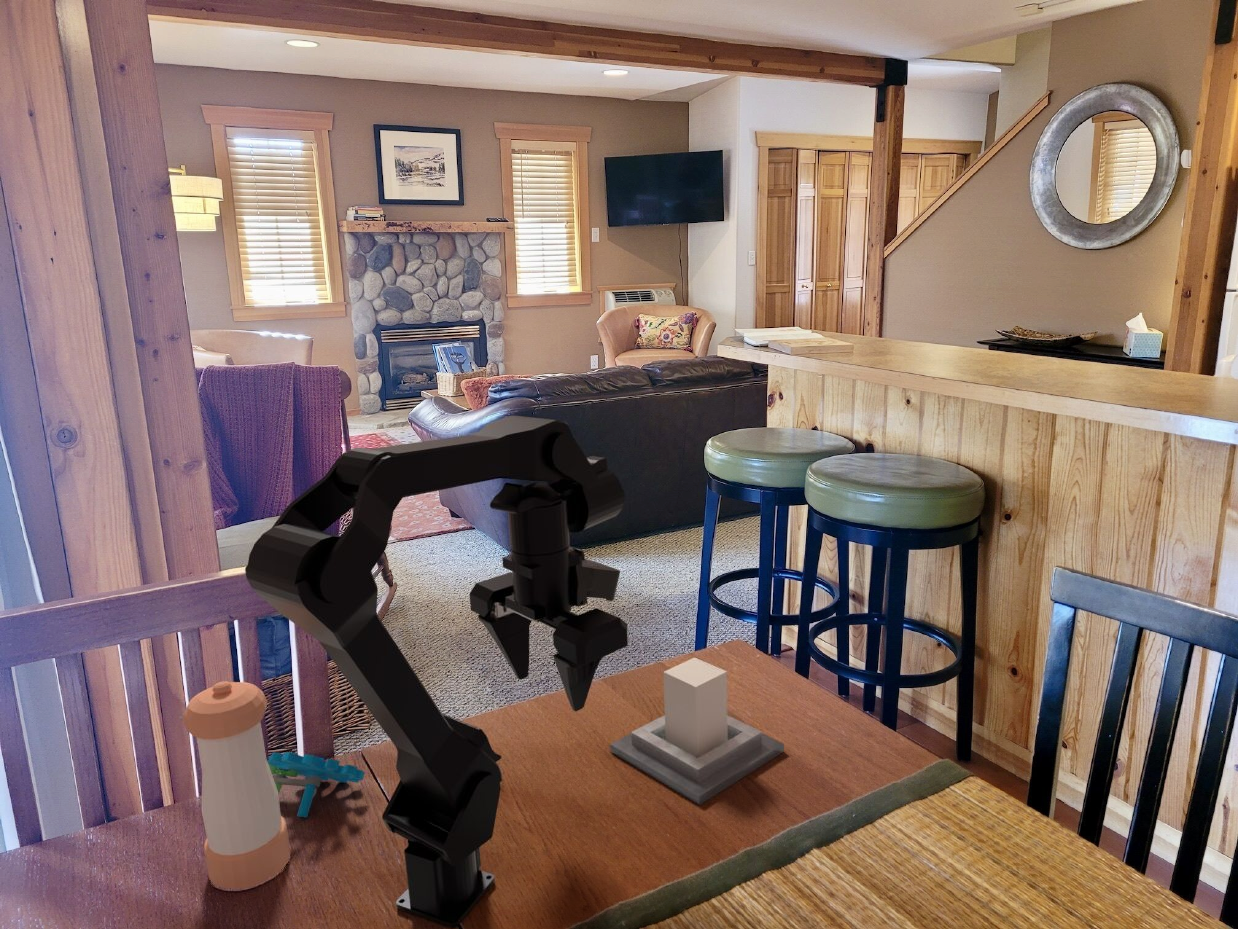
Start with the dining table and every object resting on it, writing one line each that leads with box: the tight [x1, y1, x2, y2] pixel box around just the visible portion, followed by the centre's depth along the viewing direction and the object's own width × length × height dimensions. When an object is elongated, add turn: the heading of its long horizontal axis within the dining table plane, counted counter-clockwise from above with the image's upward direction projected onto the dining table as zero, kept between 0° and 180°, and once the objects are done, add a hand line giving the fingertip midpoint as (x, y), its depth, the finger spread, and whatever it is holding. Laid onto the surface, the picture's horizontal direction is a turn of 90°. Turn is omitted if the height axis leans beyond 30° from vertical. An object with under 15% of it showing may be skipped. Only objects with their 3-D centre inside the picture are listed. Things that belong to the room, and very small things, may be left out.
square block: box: [663, 657, 728, 758], centre depth 97 cm, size 5×5×9 cm
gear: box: [267, 751, 365, 819], centre depth 91 cm, size 11×6×10 cm
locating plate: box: [609, 714, 785, 806], centre depth 98 cm, size 14×14×2 cm
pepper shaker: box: [182, 680, 292, 889], centre depth 80 cm, size 7×7×19 cm
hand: (549, 693), depth 86 cm, fingers open, 9 cm apart
